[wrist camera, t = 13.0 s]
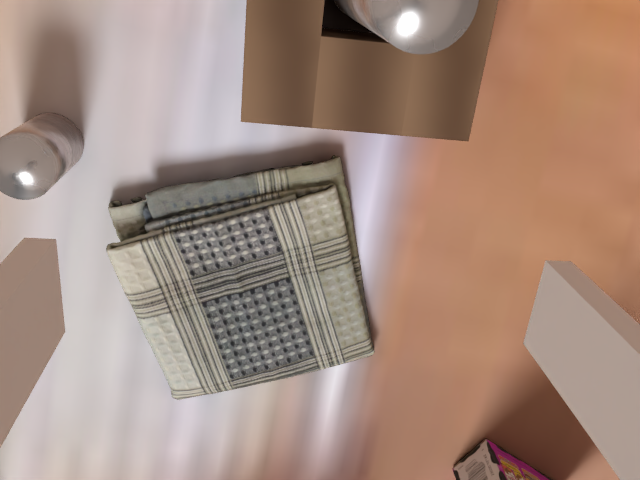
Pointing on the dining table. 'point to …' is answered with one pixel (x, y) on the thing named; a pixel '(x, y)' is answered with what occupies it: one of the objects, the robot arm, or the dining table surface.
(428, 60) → the hole block
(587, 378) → the robot arm
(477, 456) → the candy bar box
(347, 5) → the long pin
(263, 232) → the dish towel
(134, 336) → the dining table surface
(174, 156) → the dining table surface
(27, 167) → the short pin
